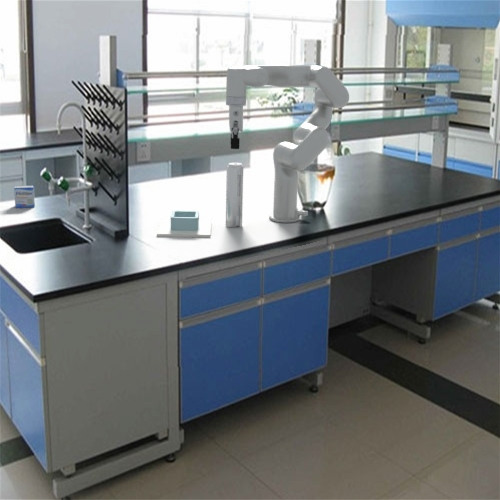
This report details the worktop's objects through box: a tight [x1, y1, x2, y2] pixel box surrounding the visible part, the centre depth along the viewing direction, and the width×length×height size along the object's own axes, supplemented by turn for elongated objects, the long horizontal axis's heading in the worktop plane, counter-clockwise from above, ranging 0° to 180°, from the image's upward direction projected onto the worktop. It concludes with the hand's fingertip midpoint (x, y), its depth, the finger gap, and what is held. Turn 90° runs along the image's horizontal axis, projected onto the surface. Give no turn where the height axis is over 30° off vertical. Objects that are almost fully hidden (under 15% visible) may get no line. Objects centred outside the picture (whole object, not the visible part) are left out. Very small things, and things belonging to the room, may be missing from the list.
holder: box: [156, 210, 212, 238], centre depth 279 cm, size 20×20×6 cm
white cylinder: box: [225, 162, 244, 229], centre depth 282 cm, size 6×6×25 cm
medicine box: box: [13, 185, 36, 209], centre depth 304 cm, size 8×4×9 cm, turn 105°
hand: (234, 146), depth 276 cm, fingers open, 9 cm apart
